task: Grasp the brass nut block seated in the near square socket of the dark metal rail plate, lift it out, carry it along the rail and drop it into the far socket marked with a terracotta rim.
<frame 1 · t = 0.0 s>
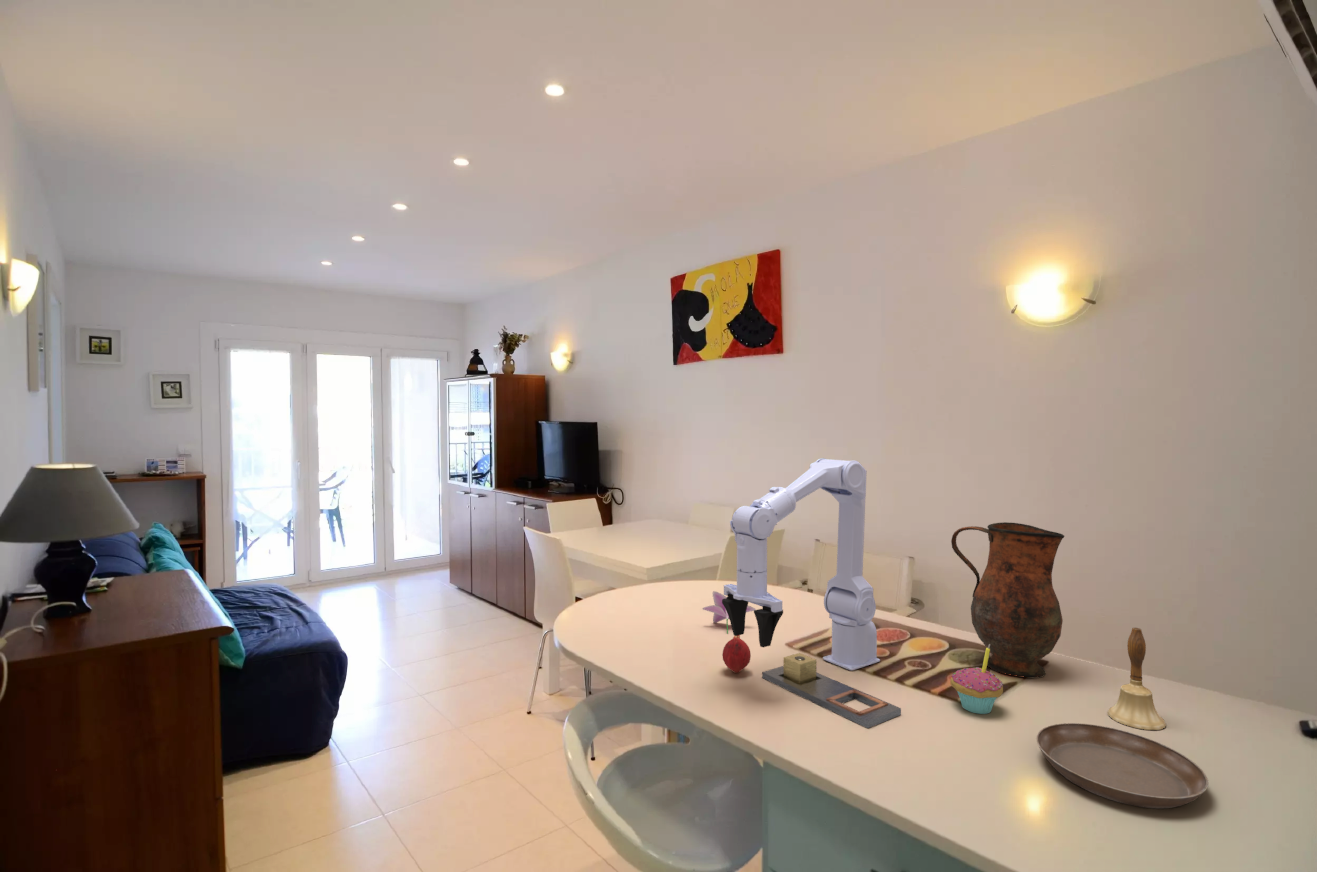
hand: (751, 640, 126), 10 cm above the table, fingers open, 7 cm apart
lily: (728, 629, 165), on the table
pitcher: (1003, 667, 139), on the table
hand bell: (1135, 720, 115), on the table
plant saucer: (1116, 778, 97), on the table
rail: (826, 695, 125), on the table
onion: (736, 673, 136), on the table
cupcake: (976, 709, 119), on the table
nut: (799, 683, 131), resting in rail
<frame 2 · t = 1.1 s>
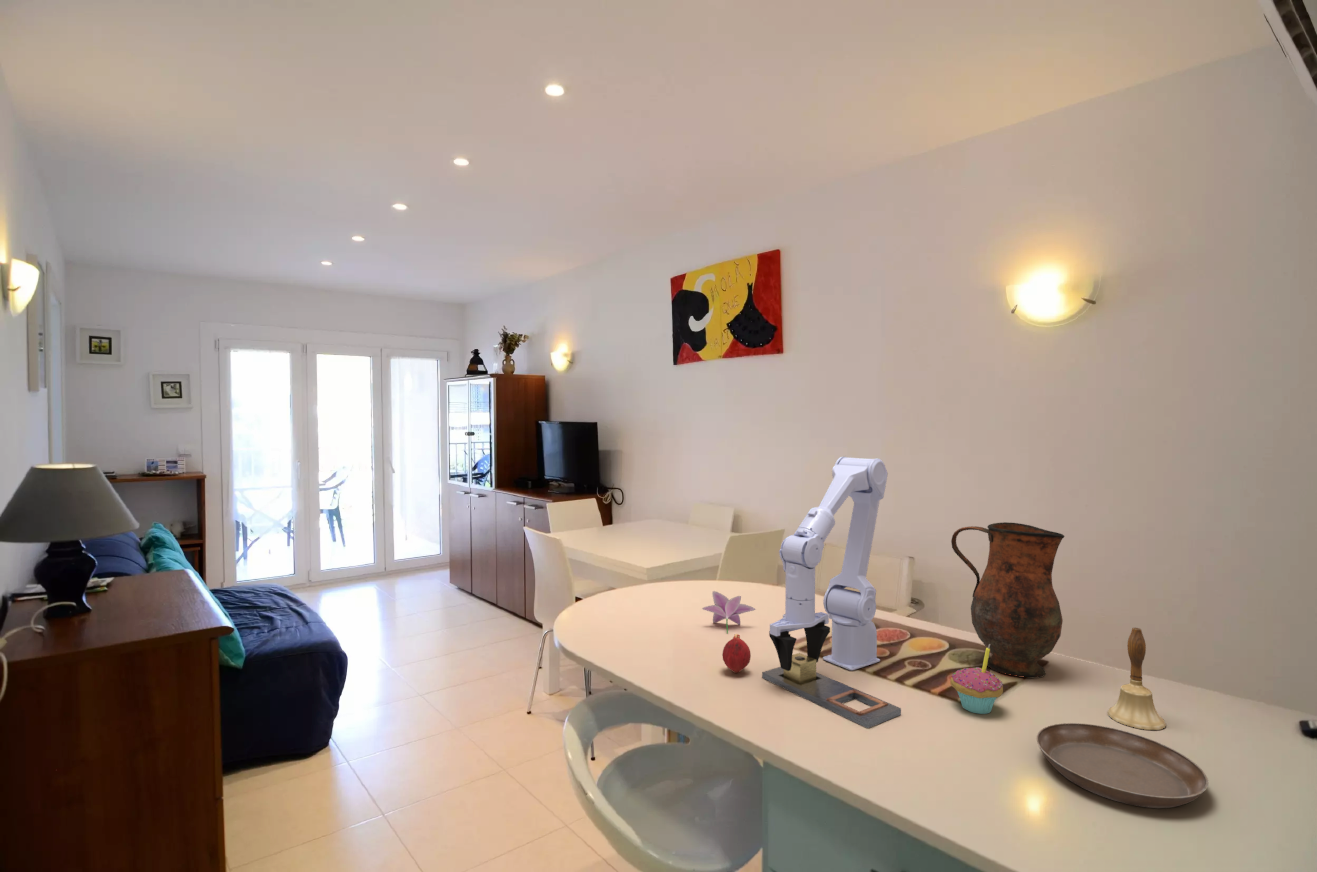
hand: (799, 664, 131), 4 cm above the table, fingers open, 7 cm apart
nothing on the table moved.
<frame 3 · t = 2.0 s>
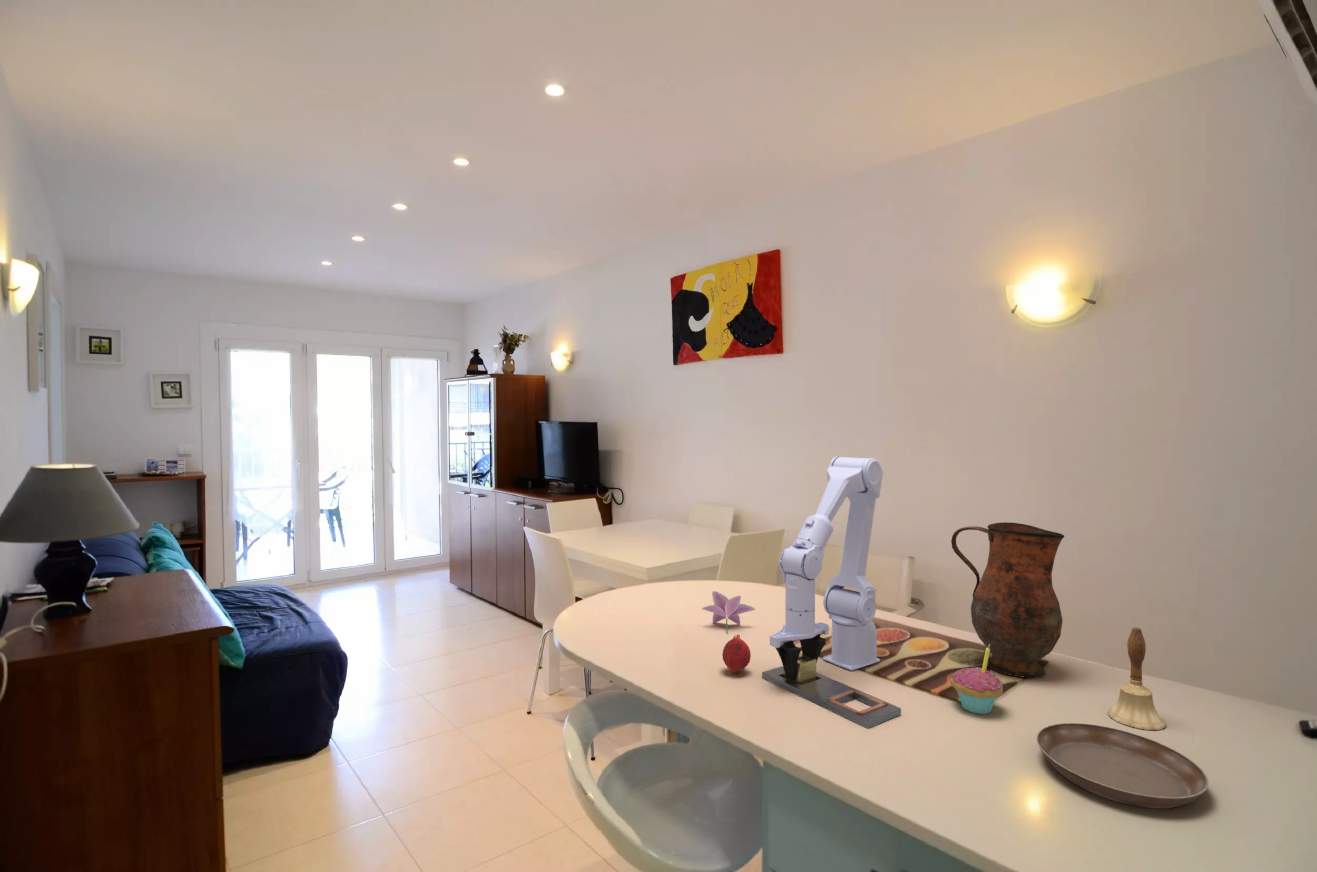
hand: (799, 675, 131), 1 cm above the table, fingers closed on nut, 4 cm apart
nut: (799, 682, 131), resting in rail, touching gripper
everything else where it was.
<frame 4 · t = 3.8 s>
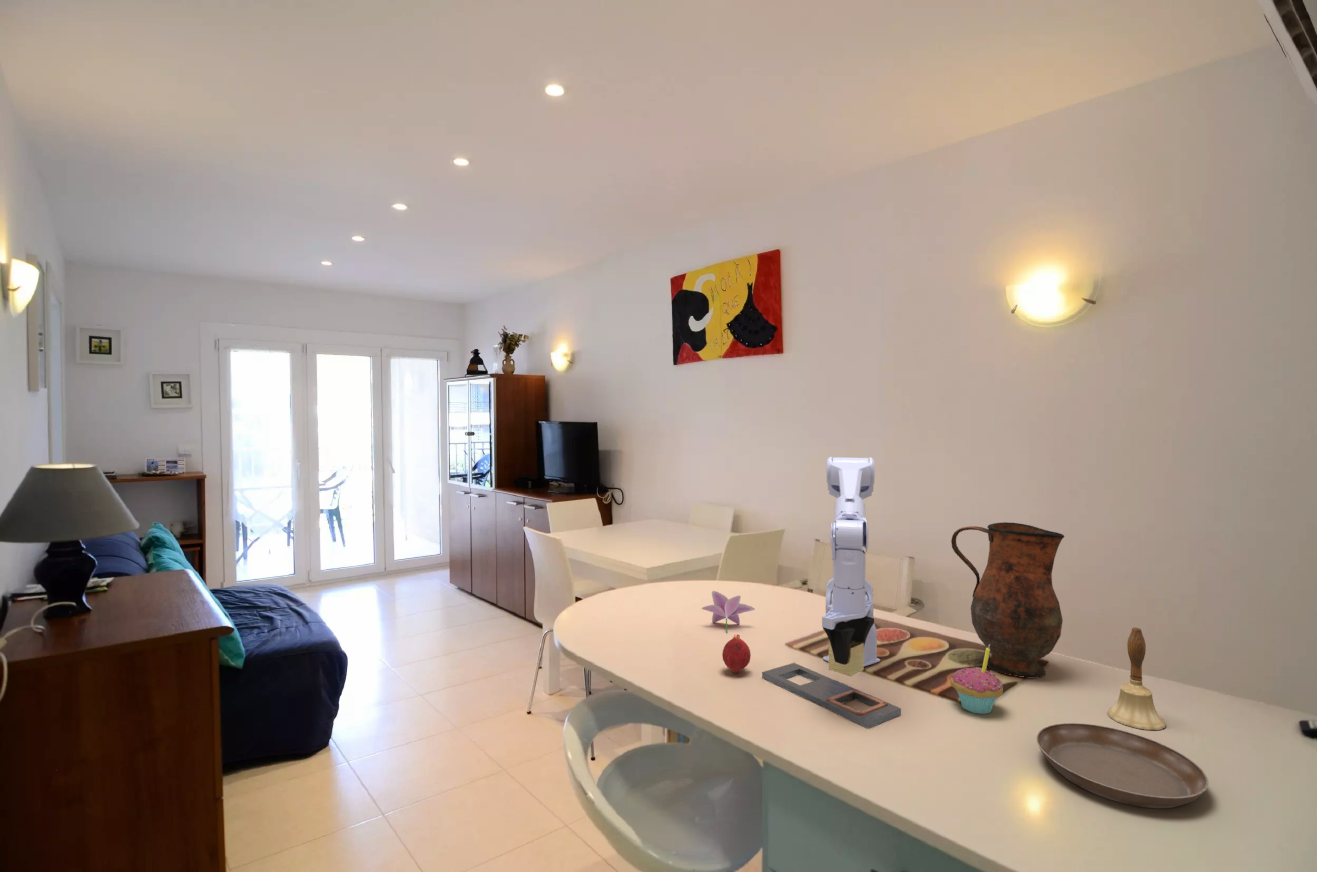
hand: (848, 659, 120), 8 cm above the table, fingers closed on nut, 4 cm apart
nut: (846, 669, 121), point 6 cm above the table, touching gripper
everything else where it was.
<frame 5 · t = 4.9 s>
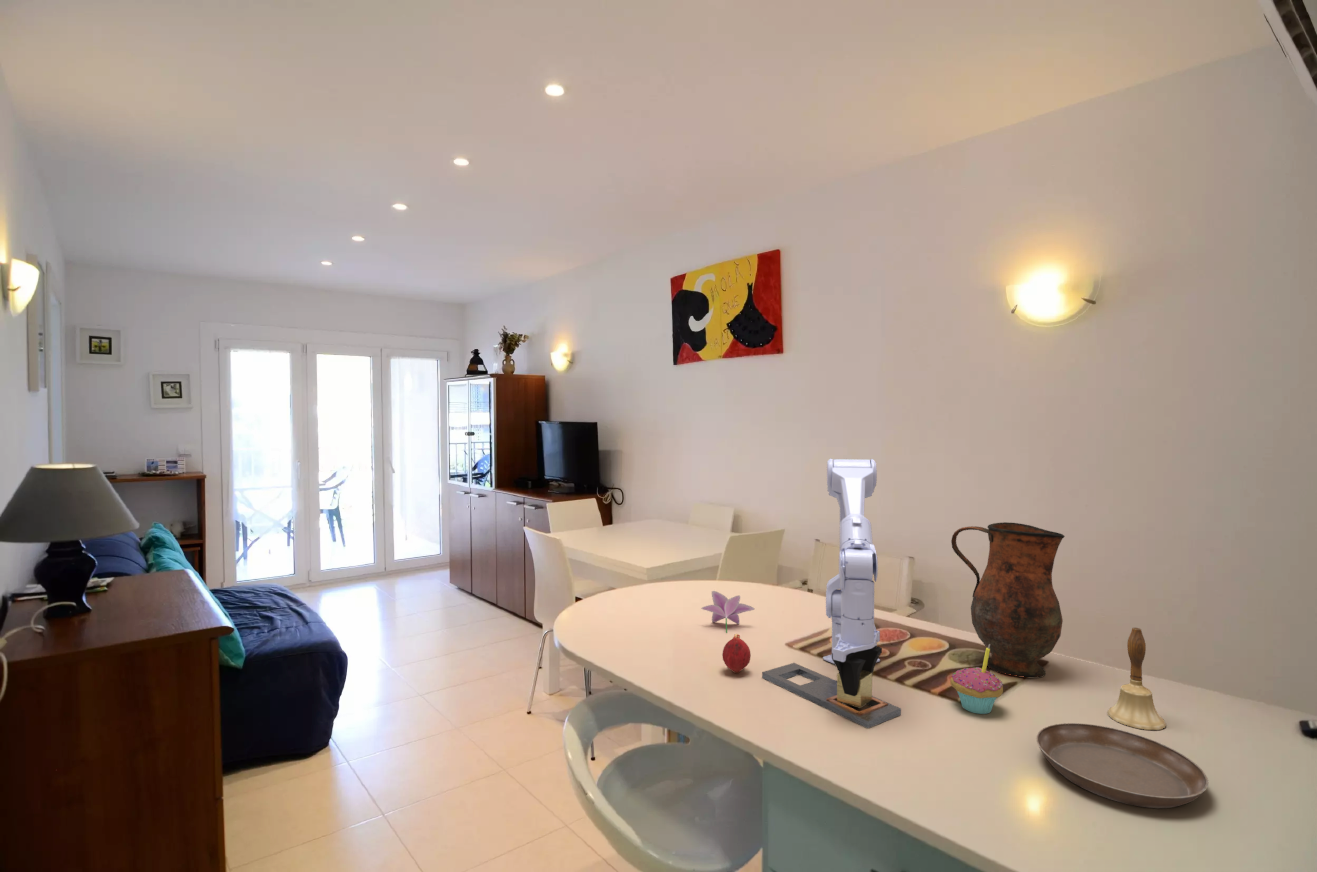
hand: (856, 689, 119), 3 cm above the table, fingers closed on nut, 4 cm apart
nut: (854, 700, 119), point 1 cm above the table, touching gripper, rail
everything else where it was.
when the fingers open (3 cm above the table, at t = 5.5 s): nut stays where it is, resting on rail.
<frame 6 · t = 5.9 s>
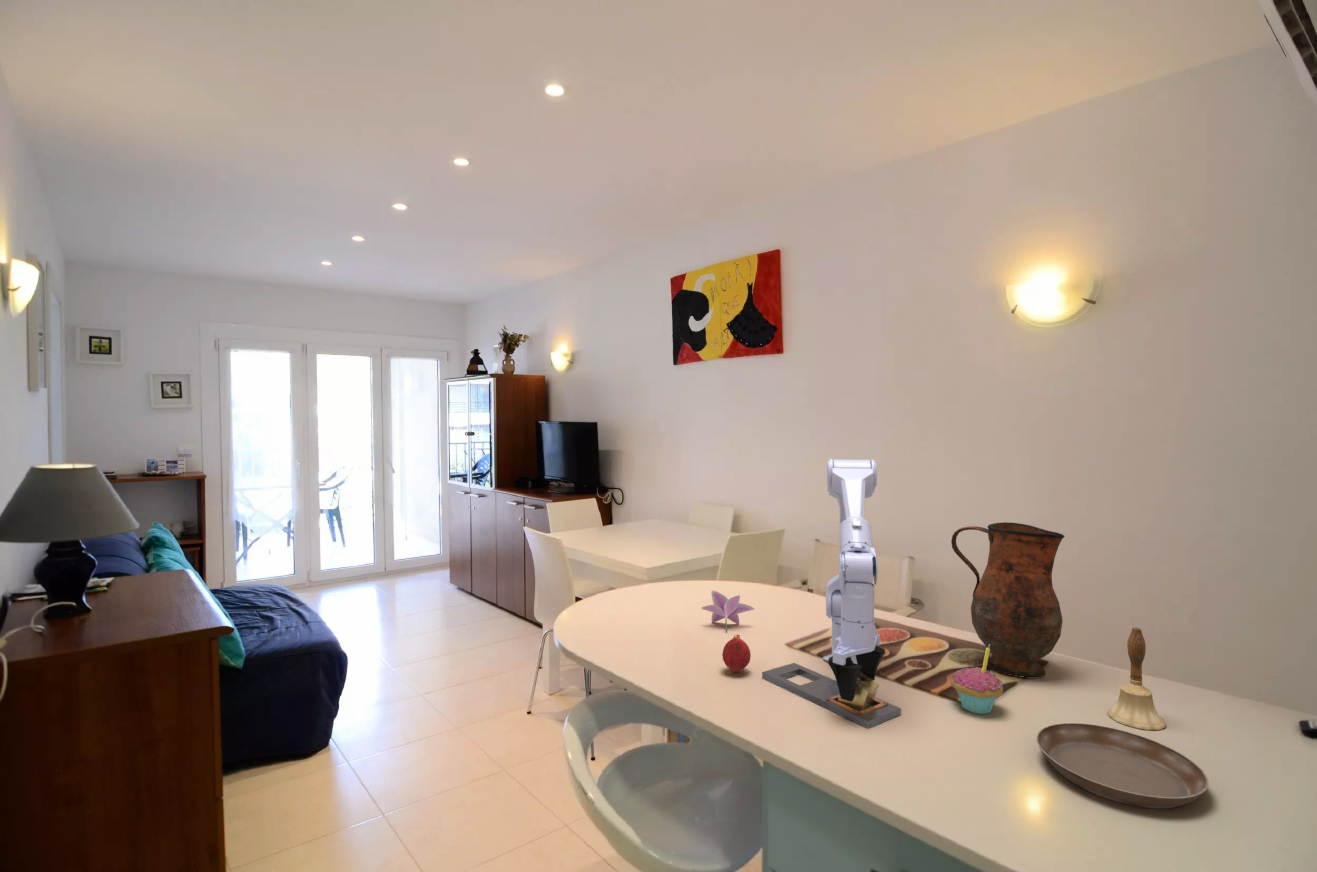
hand: (856, 692, 119), 3 cm above the table, fingers open, 7 cm apart
nut: (854, 703, 119), point 1 cm above the table, tilted 19°, touching rail
everything else where it was.
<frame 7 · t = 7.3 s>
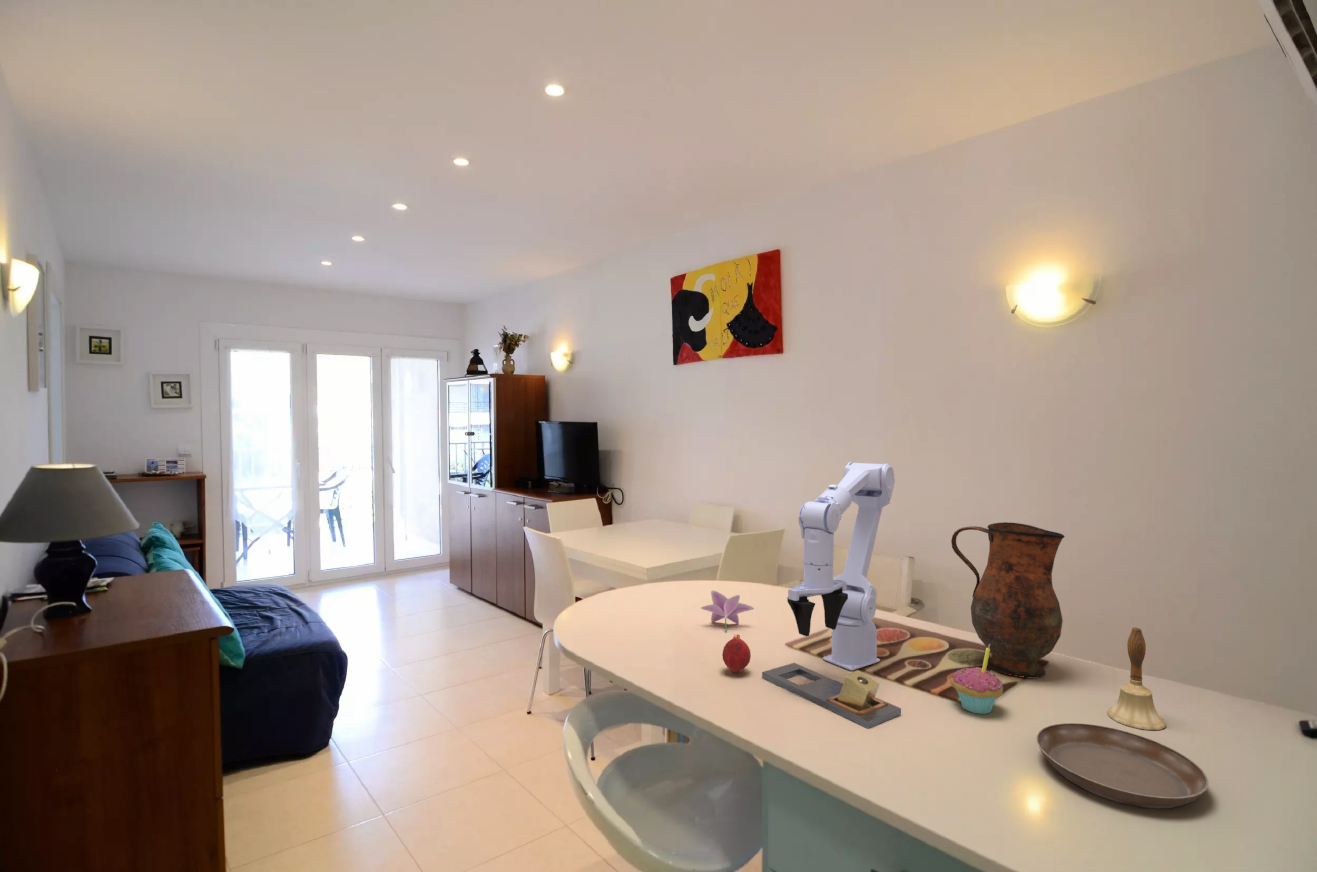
hand: (817, 631, 130), 10 cm above the table, fingers open, 7 cm apart
nothing on the table moved.
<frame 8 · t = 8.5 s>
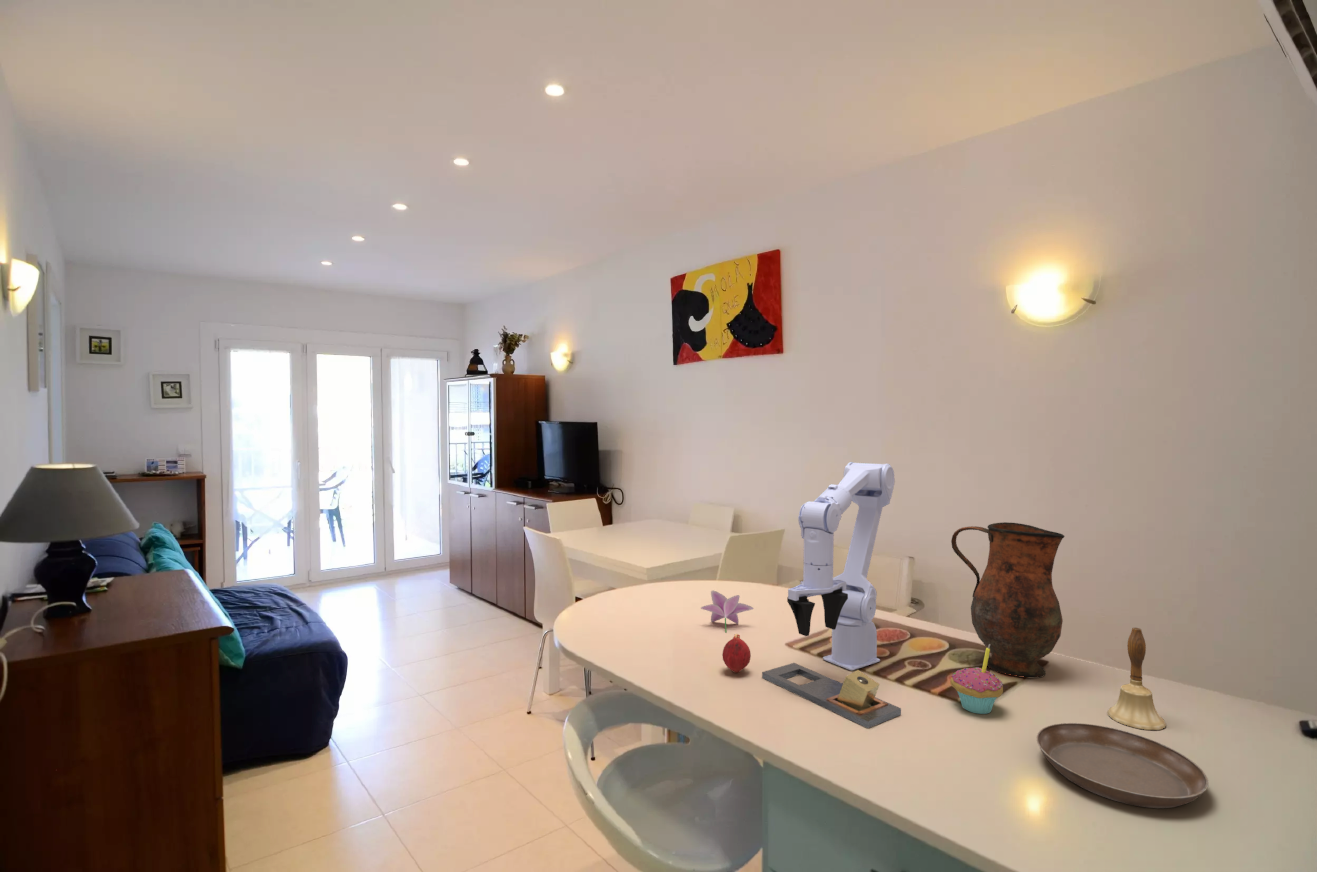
hand: (817, 631, 130), 10 cm above the table, fingers open, 7 cm apart
nut: (854, 703, 120), point 1 cm above the table, tilted 19°
everything else where it was.
at the end: nut 0.7 cm from the target spot on the rail, point 0.7 cm above the rail's base; nut tilted 19°; the gripper is holding nothing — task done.
